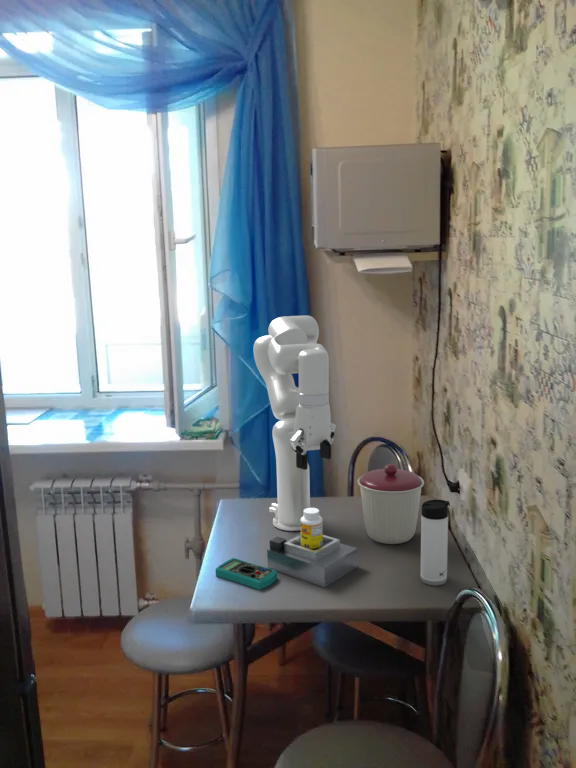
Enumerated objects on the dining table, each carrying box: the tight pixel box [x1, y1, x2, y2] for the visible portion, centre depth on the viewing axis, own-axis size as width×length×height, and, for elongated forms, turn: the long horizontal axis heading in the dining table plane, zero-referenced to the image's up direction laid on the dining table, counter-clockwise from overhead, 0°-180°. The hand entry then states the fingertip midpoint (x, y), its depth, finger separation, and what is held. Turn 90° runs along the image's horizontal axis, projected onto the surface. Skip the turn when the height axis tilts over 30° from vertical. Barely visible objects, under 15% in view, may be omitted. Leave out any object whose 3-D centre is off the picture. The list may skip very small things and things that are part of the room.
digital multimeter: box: [215, 557, 278, 591], centre depth 175 cm, size 7×15×3 cm, turn 55°
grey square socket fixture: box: [266, 531, 358, 589], centre depth 179 cm, size 18×14×7 cm
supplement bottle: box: [300, 507, 324, 551], centre depth 178 cm, size 6×6×10 cm
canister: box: [357, 463, 425, 545], centre depth 196 cm, size 18×18×21 cm
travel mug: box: [420, 499, 451, 586], centre depth 170 cm, size 6×7×20 cm
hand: (313, 463), depth 182 cm, fingers open, 9 cm apart
